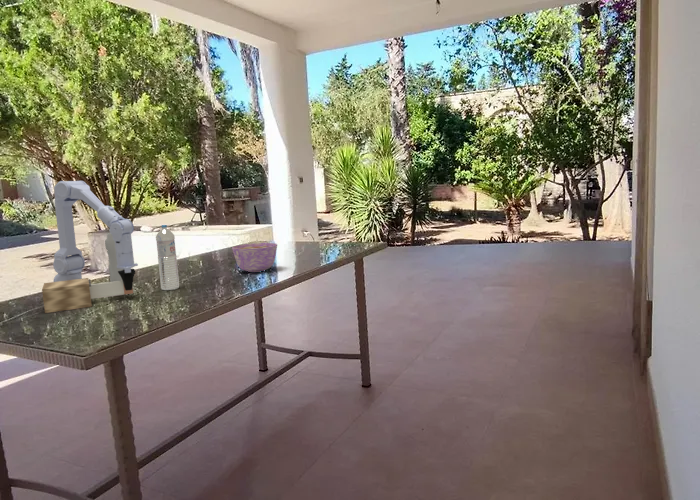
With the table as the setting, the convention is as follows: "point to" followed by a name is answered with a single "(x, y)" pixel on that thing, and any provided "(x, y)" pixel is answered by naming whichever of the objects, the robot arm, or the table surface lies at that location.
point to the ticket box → (66, 295)
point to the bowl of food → (255, 256)
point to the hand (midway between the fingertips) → (128, 289)
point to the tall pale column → (112, 259)
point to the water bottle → (167, 259)
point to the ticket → (108, 289)
